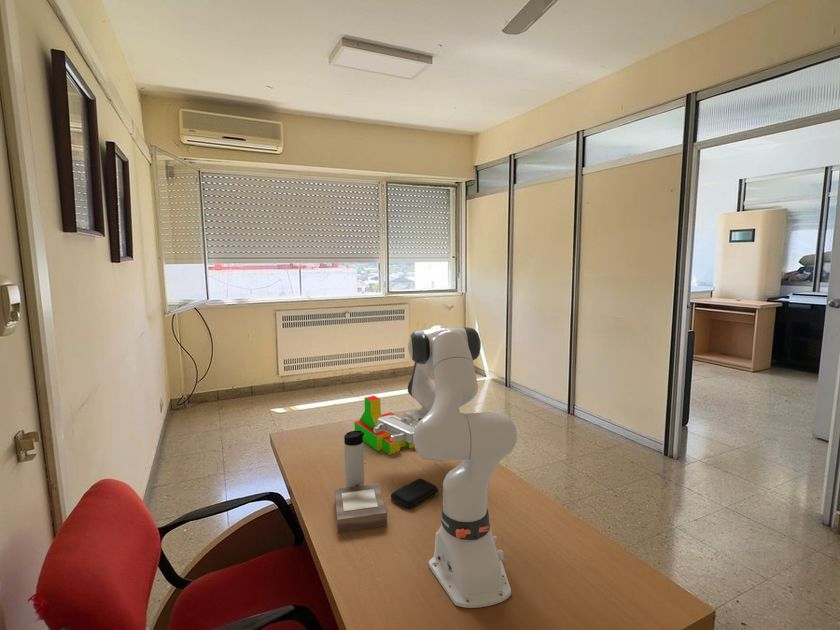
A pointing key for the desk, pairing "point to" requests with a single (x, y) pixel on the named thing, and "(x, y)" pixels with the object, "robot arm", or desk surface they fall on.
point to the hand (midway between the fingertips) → (382, 434)
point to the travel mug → (354, 458)
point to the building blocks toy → (370, 421)
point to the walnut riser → (359, 508)
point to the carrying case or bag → (414, 493)
